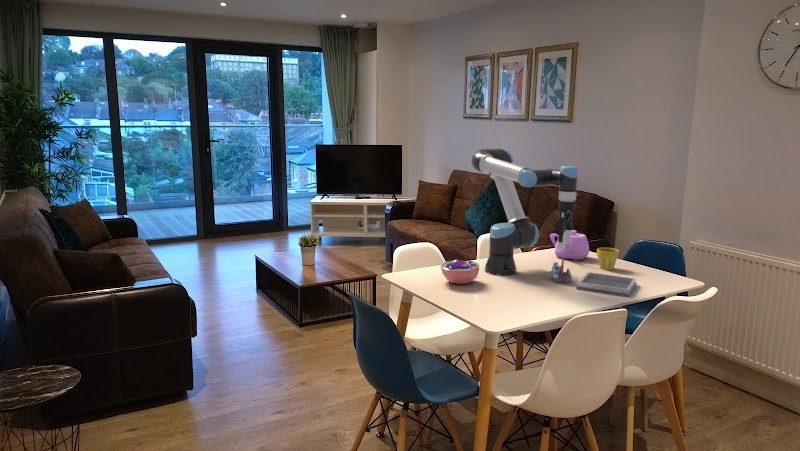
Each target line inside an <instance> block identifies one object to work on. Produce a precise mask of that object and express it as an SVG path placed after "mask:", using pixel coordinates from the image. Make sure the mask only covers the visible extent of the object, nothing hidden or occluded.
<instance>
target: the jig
mask: <svg viewBox="0 0 800 451" xmlns="http://www.w3.org/2000/svg"><path fill="white" fill-rule="evenodd" d="M636 281H637V280H636V278H635V277H627V276H619V275H614V274H613V275H612V274H606V273H605V274H604V273H599V272H597V273H596V272H589V271H588V272H587V273H586V274H585V275H584V276H582V278H581V279H580V280H579V281H578V283H577V285H576V286H575V287H576V288H575V289H576V290H579V291H587V292H591V293H592V292H593V293H601V294H607V295H612V296H618V297H619V296H620V297H625V298H630V297H631V295H632V294H633V292H634V290H635V288H636V287H637V282H638V281H637V282H636ZM632 291H633V292H632Z"/></svg>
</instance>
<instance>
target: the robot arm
mask: <svg viewBox="0 0 800 451" xmlns="http://www.w3.org/2000/svg"><path fill="white" fill-rule="evenodd" d="M471 166H472V168H473V169H475V171H477V172H480V173H482V174H483V173H484V174H489V178H491V179H493V180H494V182H495V185H496V189H497V191H498V193H499V194H498V195H499V197H500V200H501V203H502V207H503V209H504V212H505V216H506V219H507V222H500V223H495V224H493V225H492V226H491V227H490V232H489V255H488V258H487V260H486V262H485V266H484V272H486V273H488V272H489V273H488V274H491V273H492V275H496V274H499V275H498V276H509V275H515V274H516V273H517V265H516V263H515V259H514V252H515V251H514V250H517V249H526V248H530V247H533V246H534V245H536V244H537V243H538V240H539V237H540V230H539V228H538V226H537V225H536V224H535V223H532V222H531V220H530V217H528V216H526V214H525V212H524V209H523V207H522V204H521V201H520V198H519V194H518V192H517V190H516V188H515V183H519V186H521V187H524V188H532V187H533V188H534V187H545V186H546V187H547V186H551V187H552V186H553V187H559V188H558V189H559V190H558V205H557V208H558V210H561V211H562V212H559V219H558V225H557V231H556V233H555V234H556V235H558V237H557V240H558V243H557V242H556V243H557V249H562V250H563V249H564V244H571V231H572V230H574V222H573V220H574V219H573V210H576V200H577V198H576V197H577V196H578V193H577V186H578V178H579V176H578V175H579V174H578V172H579V171H578V168H577V166H574V165H573V166H572V165H562V166H560V169H553V168H542V169H532V168H528V167H525V166H522V165H519V164H515V163H514V157H513V155H512V153H511V152H510V151H509V150H507V149H506V148H505V149H504V148H500V147H499V148H481V149H478V150H476V151H475V152H474V153H473V155H472V156H471ZM514 182H515V183H514ZM564 233H565V235H564ZM564 236H565V242H564Z"/></svg>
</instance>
